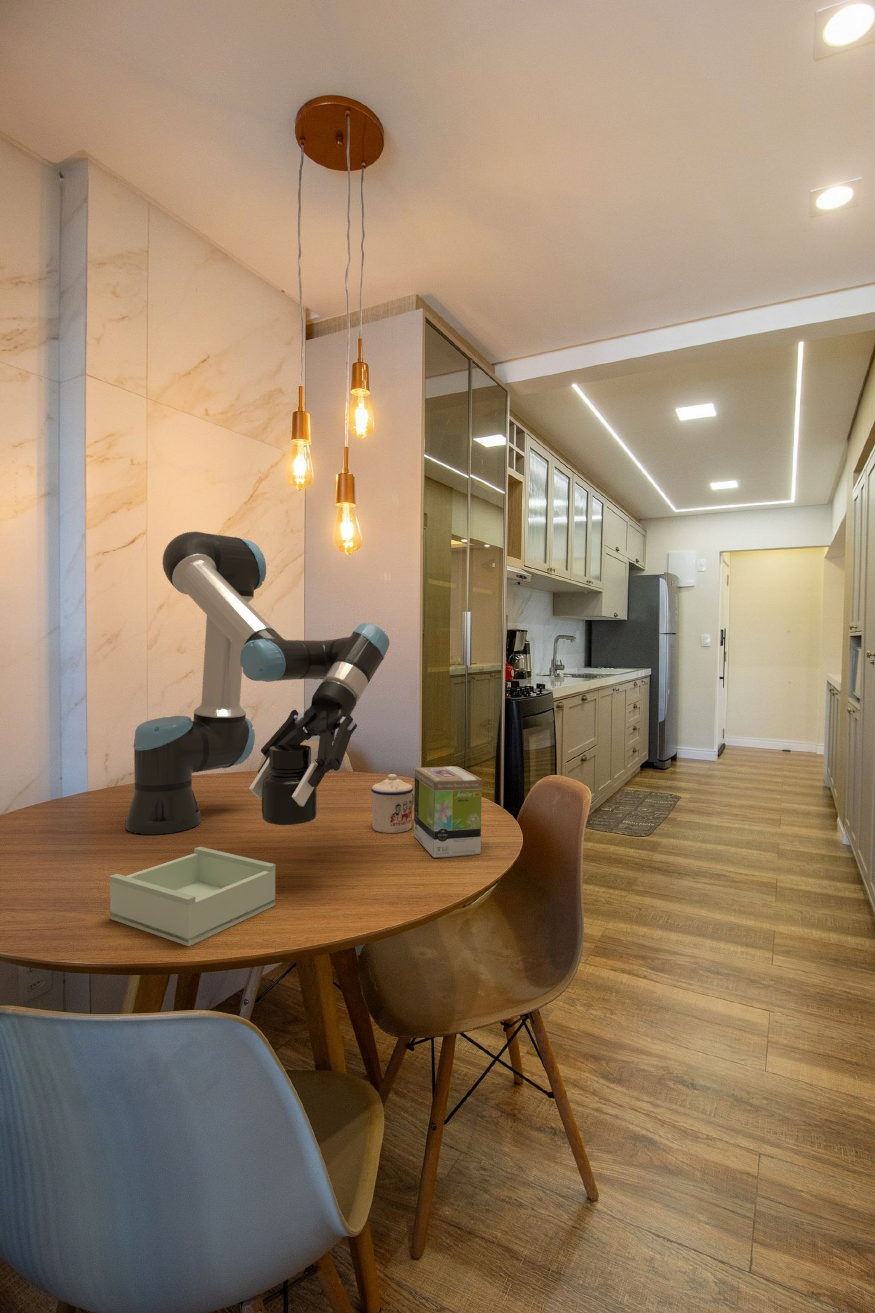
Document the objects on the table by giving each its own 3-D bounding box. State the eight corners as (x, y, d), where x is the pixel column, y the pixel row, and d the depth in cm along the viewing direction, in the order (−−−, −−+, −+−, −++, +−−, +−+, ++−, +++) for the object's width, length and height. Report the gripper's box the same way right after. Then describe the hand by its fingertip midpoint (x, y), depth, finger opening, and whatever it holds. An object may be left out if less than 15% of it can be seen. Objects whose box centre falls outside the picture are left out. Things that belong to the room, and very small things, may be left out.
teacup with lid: (394, 836, 138) (394, 780, 138) (362, 829, 143) (362, 775, 143) (429, 824, 147) (429, 772, 147) (398, 817, 153) (398, 767, 153)
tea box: (482, 855, 126) (483, 778, 126) (432, 859, 123) (432, 780, 123) (458, 833, 141) (458, 764, 140) (412, 836, 138) (412, 766, 138)
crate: (109, 919, 96) (109, 876, 96) (200, 884, 110) (200, 846, 110) (188, 946, 87) (188, 899, 87) (275, 905, 101) (275, 864, 101)
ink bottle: (307, 809, 117) (308, 741, 116) (327, 821, 109) (328, 749, 109) (252, 816, 111) (253, 745, 111) (269, 830, 104) (270, 754, 104)
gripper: (395, 710, 118) (337, 820, 104) (304, 702, 128) (240, 800, 115) (379, 682, 113) (315, 793, 100) (285, 676, 124) (217, 775, 110)
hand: (275, 797), depth 107 cm, fingers closed on ink bottle, 9 cm apart
